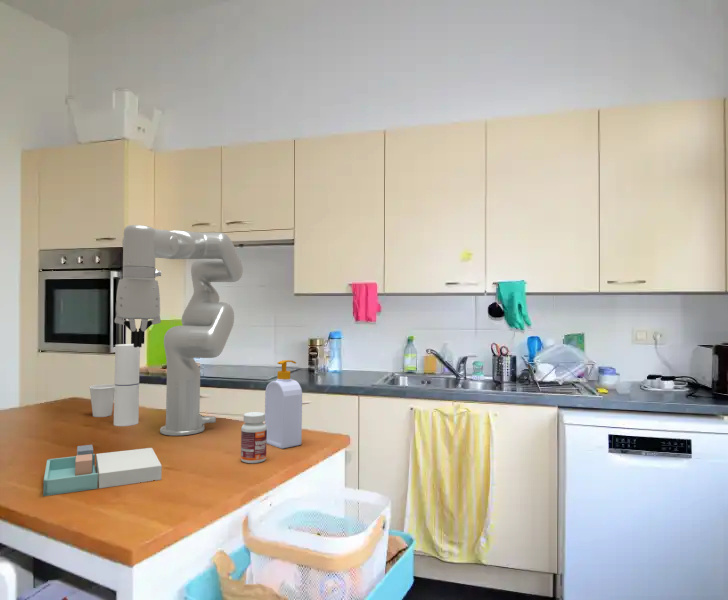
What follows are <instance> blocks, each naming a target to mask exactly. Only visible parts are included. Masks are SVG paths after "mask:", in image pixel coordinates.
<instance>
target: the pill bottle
mask: <svg viewBox="0 0 728 600" xmlns="http://www.w3.org/2000/svg"><path fill="white" fill-rule="evenodd" d="M240 429H241V432H240V433H241V435H240V460H241V461H242V462H244V463H247V464H259V463H263V462H264V461H266V459H267V426H266V425H265V412H262V411H252V412H251V411H249V412H246V413H243V424H242V426H241V428H240Z"/></svg>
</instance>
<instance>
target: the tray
mask: <svg viewBox="0 0 728 600" xmlns="http://www.w3.org/2000/svg"><path fill="white" fill-rule="evenodd" d="M75 461H76V455H74V456H67V457H56V458H49V459H48V458H47V459H46V466H45V470H44V471H45V472H44V475H43V476H44V477H43V494H42V495H43V496H42V497H47V496H53V495H54V496H55V495H62V494H69V493H75V492H76V493H77V492H82V491H89V490H90V491H91V490H96V489H98V473H97V470H96V454H95V453H93V473H92V474H86V475H79V476H75Z"/></svg>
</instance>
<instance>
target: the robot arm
mask: <svg viewBox="0 0 728 600" xmlns="http://www.w3.org/2000/svg"><path fill="white" fill-rule="evenodd" d="M121 243H122V250H123V251H122V252H123V253H122V278H121V279H118V283H117V289H116V299H115V300H116V302H115V318H114V323H115V324H117V325H118V324H119V325H123V326H125V327H126V328H127V329H128V330H129V331H130V344H134V347H140V348H142V345H143V344H145V334H146V333H145V332H146V331H147V329H148V328H150V327H151V326H152V325H157V324H161V323H162V320H161V295H160V286H159V282H158V280H156V278H158V277H162V271H161V270H158V269H157V268H156V259H167V260H168V259H169V260H194V261H193V262H192V263H191V267H190V274H191V281H192V288H193V293H192V296H191V298H190V300H189V302H188V304H187V306H186V307H185V309H184V310H183V313H182V316H181V325H177V326H176V325H175V326H172V327H171V328H169V329H167V331H166V332H165V334H164V335H163V336H164V337H163V346H164V347H163V348H164V352H165V357H166V358H165V359H166V393H165V394H166V402H165V403H166V404H165V406H166V408H165V425H163V426H161V427H160V428H159V429H160V430H159V431H160V432H159V433H160V434H162V435H166V436H173V437H174V436H175V437H176V436H188V435H189V436H190V435H195V434H199V433H201V432H204V431H205V425H206V424H213V423H214V424H215V423H216V422H217V421H216V420H217V419H216V416H214V415H212V416H209V415H205V416H203V415H202V414H200V413H201V412H200V407H201V406H200V404H201V402H200V401H201V370H200V367H199V365H198V363H197V362H196V359H212V358H213V359H215V358H217V357H219V356H220V355H221V354H222V353H223V351H224V348H225V346H226V343H227V342H228V339H229V337H230V335H231V332H232V329H233V326H234V323H235V312H234V308H233V307H232V306H231V305H230V304H229V303H227V302H221V301H220V296H219V293H218V291H217V289H215V288H214V286H213V285H212V283H237V282H239V280H241V279H242V277H243V274H244V273H243V272H244V268H243V264H242V263H243V262H242V261H241V258H240V256H239V254H238V252H237V249H236V247H235V245H234V243H233V241H232V240H231V238H230V237H229V235H228V234H226V233H225V232H220V231H219V232H217V231H215V232H214V231H213V232H212V231H211V232H206V231H205V232H199V231H188V230H170V229H169V230H168V229H158V228H157V229H156V228H153V227H152V226H148V225H142V224H130V225H129V224H128V225H127V226H126V227H124V229H123V238H122V241H121ZM136 320H140V326H139V328H138V329H137V328H136Z"/></svg>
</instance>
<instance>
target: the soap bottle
mask: <svg viewBox="0 0 728 600" xmlns="http://www.w3.org/2000/svg"><path fill="white" fill-rule="evenodd" d="M287 363H293V364H295V365H296V364H297V362H296V361H294V360H290V359H288V360H287V359H286V360H284V359H282V360H280V361H278V362H277V365H281V370H278V371H277V378H276V380H272V381H270V382H269V383H267V385H266V388H265V392H264V393H265V394H264V396H265V397H264V399H265V400H264V413H265V421H264V424H265V425H266V426H267V443H266V445H267V444H268V445H270V446H273V447H276V448H279V449H281V450H283V449H287V448H288V449H289V448H292V447H297V446H298V447H299V446H301V445H302V433H303V431H302V428H303V427H302V425H303V424H302V423H303V390H302V386H301V385H300V383H299V382H298V381H297V380H296V379H292V378H291V370H287V365H288V364H287Z"/></svg>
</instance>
